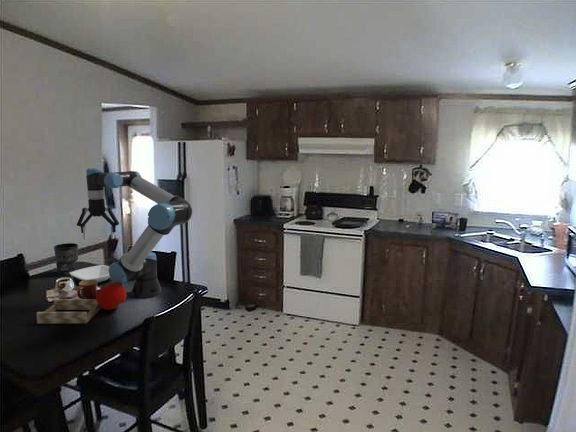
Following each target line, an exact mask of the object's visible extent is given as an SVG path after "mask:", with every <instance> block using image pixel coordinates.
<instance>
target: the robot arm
mask: <svg viewBox="0 0 576 432" xmlns="http://www.w3.org/2000/svg"><path fill="white" fill-rule="evenodd" d="M103 171H104V170H103V168H101V167H89V168H88V167H87V168H86V171H85V172H86V174H85V175H86V176H85V177H86V186H87V187H86V188H87V197H88V198H87V199H88V200H87V201H88V203H87V204H88V207H82V208H81V213H80V216H79V218H78V221H77V223H76V226H77V227H80V232H81V233H82V235H83V240H85V241H86V240H88V231H87V226H86V225H87V223H88V222H89V221H90V220H91V218H92V217H94V218H95V217H97V218H98V217H102V218H103V219H105V221H106V222H108V224H109V225H110V239H111V240H114V239H115V233H116V232H117V229H116V226H118V225H120V222H119V221H118V218H117V217H116V215H115V214H114V212H113V208H112V206H110V207H106V203H105V188H108V189H119V188H121V187H122V188H123V187H128V188H130V189H132V190H134V191H135V192H137V193H139V194H141V195H142V196H144V197H145V198H147V199H149V200H151V201H152V202H154V203H156V204H154V205H153V206H152V207H151V208H150V209H149V210H148V213H147V216H148V217H147V224H148V225H147V226H146V227H145V229H144V230H143V232H142V233H141V234H140V235H139V237H138V239H137V240H136V241H135V242H134V244H132V247H131V248H130V249H129V251H128V252H126V253H125V252H124V253H123V254H122V255H121V256H120V258H119V259H118V260H117V261H116V262H112V263H111V264H110V265H108V266H109V275H110V278H109V279H111V280H112V281H111V282H112V283H114V282H117V283H119V284H121V285H122V286H123V285H126V284H128V283H130V282H133V284H132V288H131V296H132V297H134V298H137V299H148V298H155V297H157V296H159V295H160V294H161V292H162V287H161V285H160V282H159V280H158V264H157V263H158V262H157V261H158V260H157V255H156V253H155V252H153V250H154V249H155V248H156V246H157V245H158V243H159V242H160V241H161V239H163V237H164V236H167V235H169V234H170V233H171V232H172V230H173V229H175V227H176V226H180V225H184V224H186V223H188V222H189V221H190V219H191V217H192V215H193V208H192V206H191V204H190V203H189V202H188V200H186V199H185V198H183V197H181V196H179V195H173V194H172V193H170V192H168V191H166V190H164V189H162V188H161V187H159V186H157V185H156V184H154V183H153V182H150V181H149V180H147V179H144V178H143V177H142V176H141V173H140V172H138V171H135V170H129V171H116V172H115V171H114V172H113V171H112V172H103ZM87 212H88V213H89V214H88V216H86V218H85V215H86V214H87ZM106 212H107V213H108V214H109V215H108V214H107V213H106ZM109 216H110V217H109ZM84 218H85V219H84Z"/></svg>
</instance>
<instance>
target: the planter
mask: <svg viewBox="0 0 576 432" xmlns="http://www.w3.org/2000/svg"><path fill="white" fill-rule="evenodd" d="M53 248H54V249H53V250H54V257H55V264H56V270H57V271H56V272H57V275H60V274H61V270H62V268H63V267H64V266H66V267H68V274H69V273H70V272H73V271H76V270H77V267H76V262H78V261H79V244H78V243H74V242H67V243H60V244H55V245H54V246H53ZM69 276H70V277H71V276H72V275H70V274H69ZM72 277H73V276H72Z"/></svg>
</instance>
